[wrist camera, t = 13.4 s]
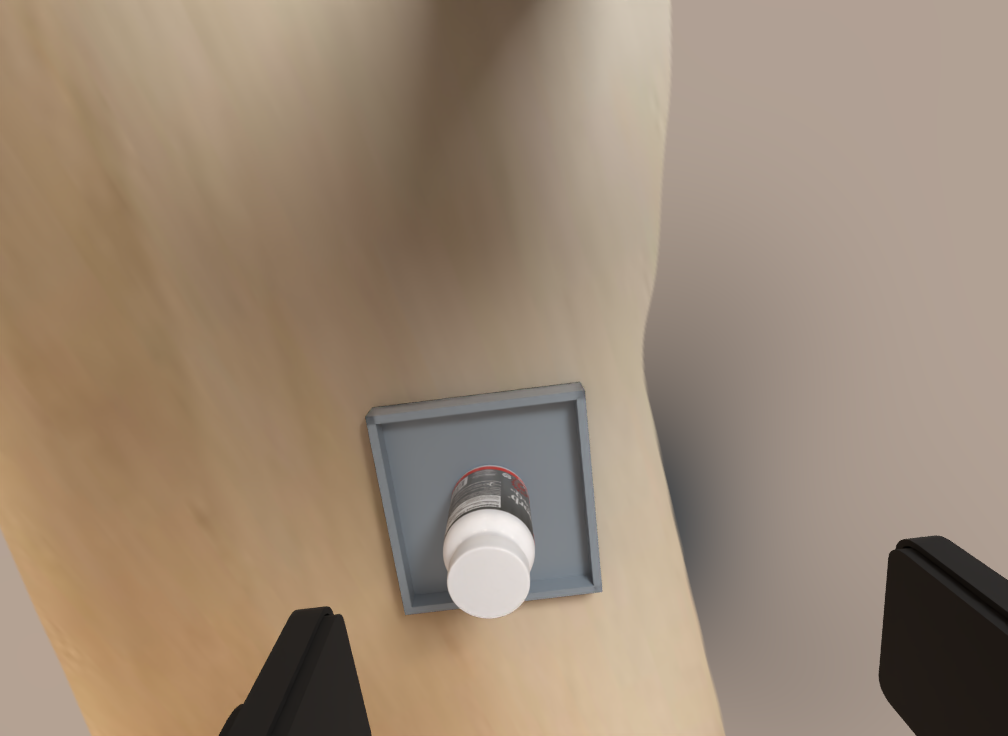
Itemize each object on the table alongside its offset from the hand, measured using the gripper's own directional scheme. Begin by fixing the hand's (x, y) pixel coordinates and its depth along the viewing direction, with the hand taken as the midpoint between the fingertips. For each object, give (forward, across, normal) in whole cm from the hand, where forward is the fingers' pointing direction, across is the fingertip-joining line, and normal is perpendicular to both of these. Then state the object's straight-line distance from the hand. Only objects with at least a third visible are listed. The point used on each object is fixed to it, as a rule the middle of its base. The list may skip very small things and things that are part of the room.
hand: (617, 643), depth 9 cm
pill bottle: (+28, +4, +12) cm, 30 cm away
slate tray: (+28, +4, +12) cm, 31 cm away
